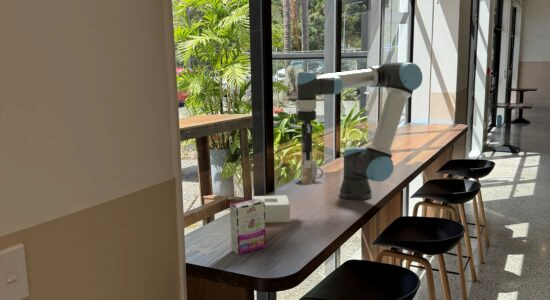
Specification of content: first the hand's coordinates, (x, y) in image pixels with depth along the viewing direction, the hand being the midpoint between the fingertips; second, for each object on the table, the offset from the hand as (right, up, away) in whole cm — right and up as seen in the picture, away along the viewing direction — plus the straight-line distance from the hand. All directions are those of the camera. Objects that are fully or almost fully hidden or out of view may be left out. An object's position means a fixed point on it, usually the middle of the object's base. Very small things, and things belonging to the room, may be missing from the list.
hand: (306, 166), depth 202 cm
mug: (+7, -10, +60) cm, 61 cm away
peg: (0, -7, +1) cm, 7 cm away
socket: (-15, -21, -2) cm, 25 cm away
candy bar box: (-22, -27, -37) cm, 51 cm away
